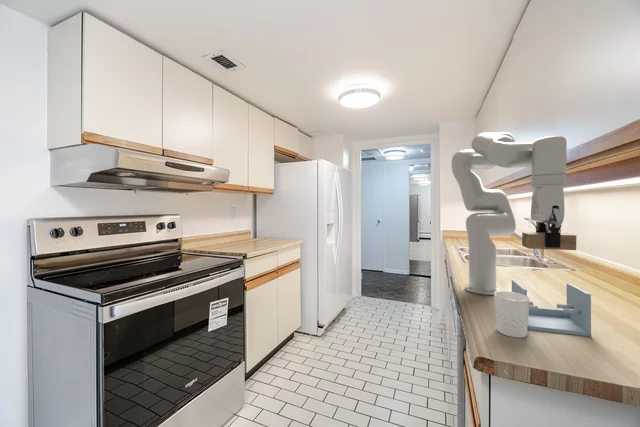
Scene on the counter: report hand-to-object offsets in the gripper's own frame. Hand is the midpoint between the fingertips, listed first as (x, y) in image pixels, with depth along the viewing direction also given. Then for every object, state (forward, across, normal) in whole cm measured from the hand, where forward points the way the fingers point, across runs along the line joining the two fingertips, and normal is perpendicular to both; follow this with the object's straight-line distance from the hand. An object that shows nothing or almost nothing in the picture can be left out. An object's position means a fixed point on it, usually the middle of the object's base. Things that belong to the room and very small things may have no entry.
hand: (547, 244), depth 78 cm
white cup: (+23, +9, -11) cm, 27 cm away
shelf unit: (+23, 0, 0) cm, 23 cm away
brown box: (+1, 0, 0) cm, 1 cm away
